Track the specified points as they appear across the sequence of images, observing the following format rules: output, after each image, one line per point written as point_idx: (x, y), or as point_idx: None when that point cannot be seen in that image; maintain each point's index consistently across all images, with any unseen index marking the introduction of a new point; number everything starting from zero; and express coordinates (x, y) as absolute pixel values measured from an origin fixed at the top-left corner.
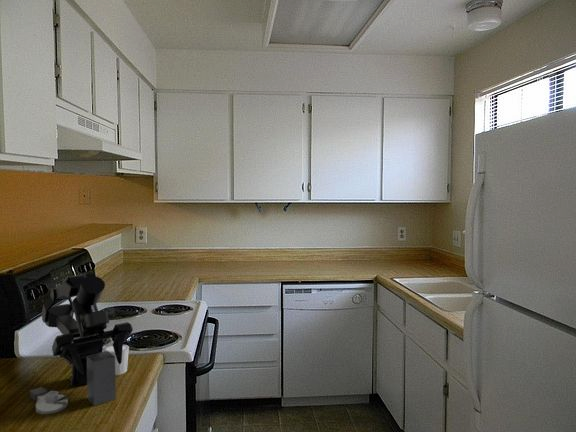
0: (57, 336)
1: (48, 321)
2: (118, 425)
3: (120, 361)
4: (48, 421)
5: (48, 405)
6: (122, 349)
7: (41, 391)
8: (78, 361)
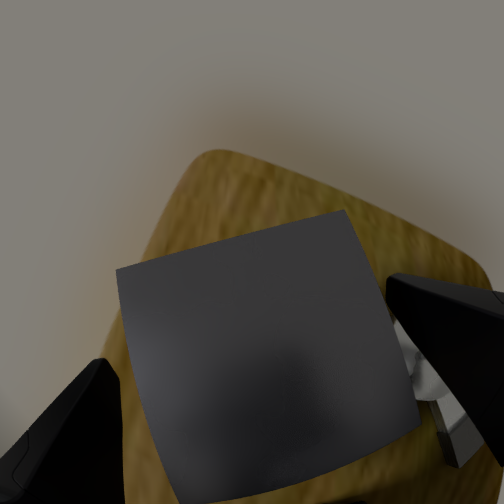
0: None
1: None
2: (215, 153)
3: (99, 360)
4: (412, 253)
5: None
6: None
7: (462, 434)
8: (466, 290)
